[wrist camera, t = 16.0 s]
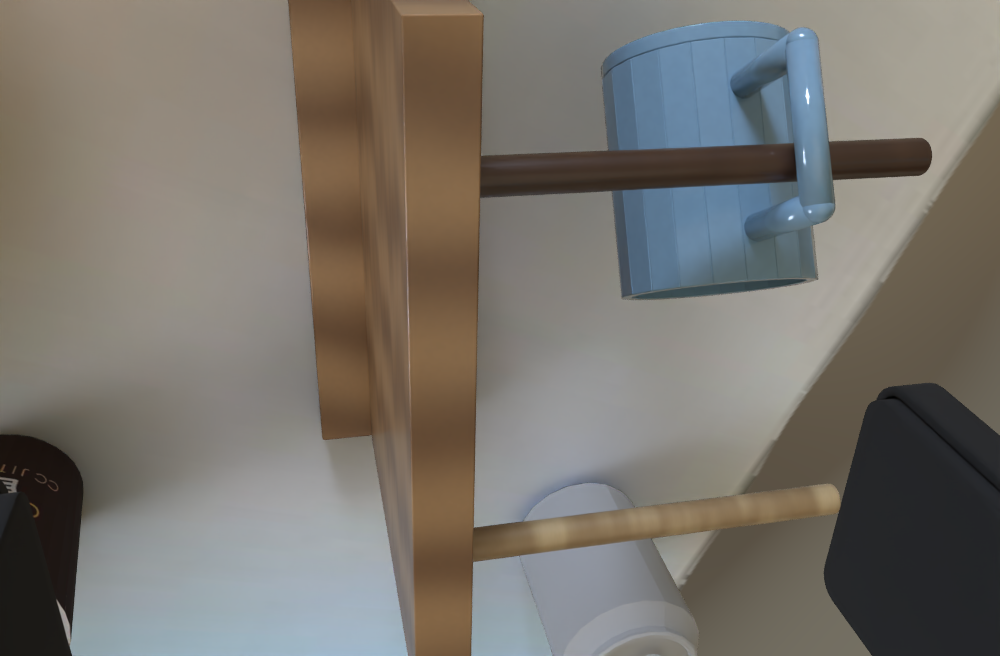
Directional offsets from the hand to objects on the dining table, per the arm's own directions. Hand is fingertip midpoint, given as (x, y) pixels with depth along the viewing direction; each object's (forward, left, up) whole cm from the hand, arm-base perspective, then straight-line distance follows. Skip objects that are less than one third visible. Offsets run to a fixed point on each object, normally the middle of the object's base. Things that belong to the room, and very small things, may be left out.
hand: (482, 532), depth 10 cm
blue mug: (-1, +14, -24) cm, 27 cm away
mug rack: (+9, +8, -33) cm, 35 cm away
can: (+30, +13, -34) cm, 47 cm away
